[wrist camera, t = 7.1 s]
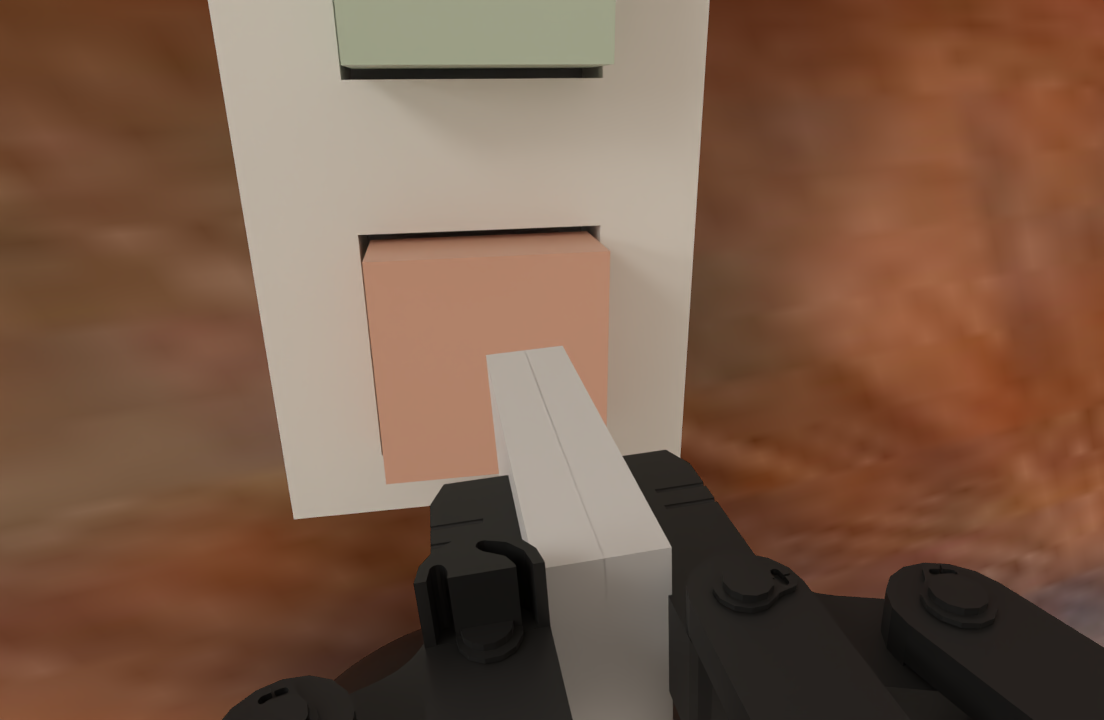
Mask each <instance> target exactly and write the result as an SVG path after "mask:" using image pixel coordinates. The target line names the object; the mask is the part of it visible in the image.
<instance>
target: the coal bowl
mask: <svg viewBox="0 0 1104 720" xmlns="http://www.w3.org/2000/svg"><path fill="white" fill-rule="evenodd" d="M423 644H424V641H423V635H422V629H420V630H417V631H415V632H412V633H410V634H407V635H405V636H403V637H401V638H399V639H397V640H395V641H392V642H390V643H388V644H387V645H385V646H383V647H381V648H380V649H378V650H376V651H375V652H373V653H371V654H369V655H368V656H366V657H364V658H363V659H361V660H360V661H359V662H357V663H356V664H354V665H353V666H351V667H350V668H349V669H347V670H346V671H345V672H344V673H342V674H341V675H340V676H339V677H338V678H336V679H335V680H334V682H336V683H337V684H338V685H340V686H341V687H343V688H344V689H345V690H347V691H348V693H349V694H351V693H353V692H356V691H358V690H360V689H362V688H365V687H367V686H369V685H371V684H374V683H376V682H378V681H380V680H382V679H384V678H385V677H387V676H389V675H391V674H393V673H394V672H396V671H398V670H399V669H400V668H401V667H402V666H404V665H405V664H406V663H407V662H409V661H410V660H411V659H412V658H413V657H414V656H415V654H416V653H417V652H418V651H419V650H420V648H421V647H422V646H423ZM673 720H681V719H680V717H679V714H678V712H677V709H676V707H675V704H674V702H673Z"/></svg>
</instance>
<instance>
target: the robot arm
mask: <svg viewBox="0 0 1104 720" xmlns="http://www.w3.org/2000/svg"><path fill="white" fill-rule="evenodd" d="M486 361H487V370H488V379H489V388H490V397H491V406H492V415H493V424H494V433H495V442H496V451H497V460H498V469H499V476H497V477H491V478H484V479H477V480H470V481H463V482H456V483H450V484H444V485H443V486H442V488H441V489H440V491H439V492H438V494H437V495H436V497H435V498H434V500H433V501H432V503H431V504H430V527H431V554H430V556H429V557H428V558H427V559H426V560H425V561H424V562H423V563H422V564H421V565H420V566H419V568H418V571H417V575H416V578H415V581H414V589H415V595H416V600H417V606H418V612H419V618H420V623H421V629H422V635H423V641H424V644H423V646H422V647H421V648H420V650H419V651H418V652H417V653H416V654H415V656H414V657H413V658H412V659H411V660H410V661H409V662H407V663H406V664H405V665H404V666H402V667H401V668H400V669H399V670H398V671H396V672H394V673H393V674H391V675H389V676H387V677H385V678H384V679H382V680H380V681H378V682H376V683H374V684H371V685H369V686H367V687H365V688H362V689H360V690H358V691H356V692H353V693H351V694H349V693H348V691H347V690H345V689H344V688H343V687H341V686H340V685H338V684H337V683H336V682H334V681H333V680H332V679H326V678H320V677H315V676H302V677H295V678H289V679H283V680H280V681H278V682H275V683H273V684H271V685H268V686H266V687H264V688H261V689H259V690H256V691H255V692H253V693H252V694H251V695H249V696H248V697H247V698H245V699H244V700H242V701H241V702H240V703H238V704H237V705H236V706H234V707H233V708H232V709H231V710H230V711H229V712H228V713H227V714H226V716H225V717H224V718H223V719H222V720H673V702H674V704H675V707H676V709H677V712H678V714H679V717H680V719H681V720H1104V648H1103V647H1102V646H1100V645H1099V644H1097V643H1095V642H1094V641H1092V640H1091V639H1089V638H1087V637H1086V636H1084V635H1083V634H1081V633H1079V632H1078V631H1076V630H1074V629H1073V628H1071V627H1070V626H1068V625H1066V624H1065V623H1063V622H1062V621H1060V620H1058V619H1057V618H1055V617H1054V616H1052V615H1050V614H1049V613H1047V612H1046V611H1044V610H1042V609H1041V608H1039V607H1037V606H1036V605H1034V604H1033V603H1031V602H1029V601H1028V600H1026V599H1025V598H1023V597H1021V596H1020V595H1018V594H1017V593H1015V592H1013V591H1012V590H1010V589H1009V588H1007V587H1005V586H1004V585H1002V584H1000V583H998V582H996V581H994V580H992V579H990V578H988V577H986V576H984V575H982V574H980V573H978V572H976V571H972V570H969V569H965V568H961V567H957V566H954V565H950V564H936V563H920V564H916V565H911V566H906V567H903V568H901V569H900V570H899V571H897V572H896V573H894V574H893V575H892V576H890V579H889V582H888V585H887V589H886V594H885V599H876V598H861V597H846V596H833V595H826V594H819V593H814V592H812V591H811V590H810V589H809V587H808V586H807V585H806V584H805V582H804V581H803V580H802V579H801V578H800V577H799V576H797V575H796V574H795V573H794V572H793V571H792V570H791V569H790V568H788V567H786V566H784V565H782V564H780V563H778V562H776V561H774V560H771V559H769V558H766V557H761V556H756V555H755V554H754V553H753V552H752V550H751V549H750V547H749V546H748V545H747V543H746V542H745V540H744V539H743V538H742V536H741V535H740V533H739V532H738V531H737V529H736V528H735V526H734V525H733V524H732V522H731V521H730V519H729V518H728V516H727V515H726V514H725V512H724V511H723V509H722V508H721V507H720V505H719V504H718V502H715V501H714V497H713V495H712V494H711V493H710V491H709V490H708V488H707V487H706V486H704V485H703V481H702V480H701V479H700V477H699V476H698V474H697V473H696V472H695V470H694V469H693V467H692V466H691V465H690V463H688V462H686V461H685V460H683V459H681V458H679V457H678V456H676V455H674V454H673V453H671V452H669V451H668V450H659V451H653V452H646V453H639V454H632V455H625V456H622V455H621V453H620V451H619V449H618V447H617V445H616V443H615V442H614V440H613V438H612V436H611V434H610V432H609V431H608V429H607V427H606V425H605V423H604V421H603V419H602V418H601V416H600V414H599V412H598V410H597V408H596V407H595V405H594V403H593V401H592V399H591V397H590V395H589V394H588V392H587V390H586V388H585V386H584V384H583V383H582V381H581V379H580V377H579V375H578V373H577V371H576V370H575V368H574V366H573V364H572V362H571V360H570V358H569V357H568V355H567V353H566V351H565V349H564V347H563V346H555V347H547V348H539V349H531V350H523V351H514V352H506V353H498V354H490V355H486Z"/></svg>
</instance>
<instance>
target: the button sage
mask: <svg viewBox="0 0 1104 720" xmlns="http://www.w3.org/2000/svg"><path fill="white" fill-rule="evenodd" d="M615 4H616V0H334V6H335V15H336V24H337V34H338V43H339V52H340V61H341V65H342V66H345V67H348V68H351V69H478V68H592V67H598V66H605V65H611V64H614V52H615Z"/></svg>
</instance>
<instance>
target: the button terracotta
mask: <svg viewBox="0 0 1104 720" xmlns="http://www.w3.org/2000/svg"><path fill="white" fill-rule="evenodd" d="M362 265H363V274H364V283H365V293H366V302H367V311H368V320H369V330H370V339H371V348H372V357H373V367H374V376H375V385H376V394H377V404H378V413H379V422H380V432H381V441H382V450H383V459H384V469H385V478H386V484H395V483H405V482H416V481H427V480H437V479H448V478H459V477H469V476H480V475H491V474H499V469H498V460H497V451H496V442H495V433H494V424H493V415H492V406H491V397H490V388H489V379H488V370H487V361H486V355H490V354H498V353H506V352H514V351H523V350H531V349H539V348H547V347H555V346H563V347H564V349H565V351H566V353H567V355H568V357H569V358H570V360H571V362H572V364H573V366H574V368H575V370H576V371H577V373H578V375H579V377H580V379H581V381H582V383H583V384H584V386H585V388H586V390H587V392H588V394H589V395H590V397H591V399H592V401H593V403H594V405H595V407H596V408H597V410H598V412H599V414H600V416H601V418H602V419H603V421H604V423H605V425H606V427H607V383H608V336H609V288H610V251H609V250H608V249H607V248H606V247H605V246H604V245H602V244H601V243H600V242H599V241H598V240H597V239H595V238H594V237H593V236H592V235H591V234H590V233H588V232H587V231H577V232H552V233H528V234H504V235H479V236H455V237H431V238H406V239H382V240H370V243H369V246H368V248H367V251H366V254H365V256H364V259H363V262H362Z"/></svg>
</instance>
